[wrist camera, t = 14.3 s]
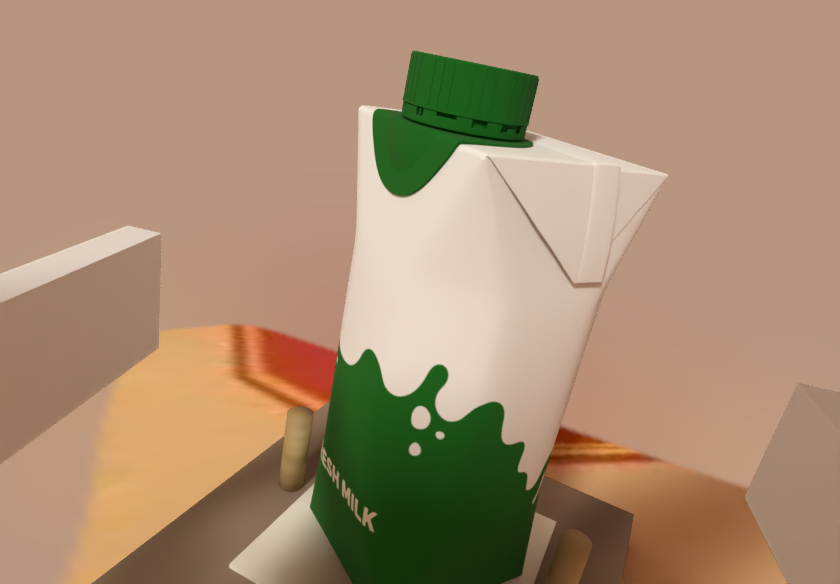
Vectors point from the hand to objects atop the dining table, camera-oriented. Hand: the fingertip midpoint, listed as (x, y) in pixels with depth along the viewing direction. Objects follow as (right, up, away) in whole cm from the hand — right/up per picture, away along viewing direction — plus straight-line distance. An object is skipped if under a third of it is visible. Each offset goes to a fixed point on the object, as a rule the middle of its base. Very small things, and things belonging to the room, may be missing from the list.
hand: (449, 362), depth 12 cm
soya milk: (-1, -10, +15) cm, 18 cm away
